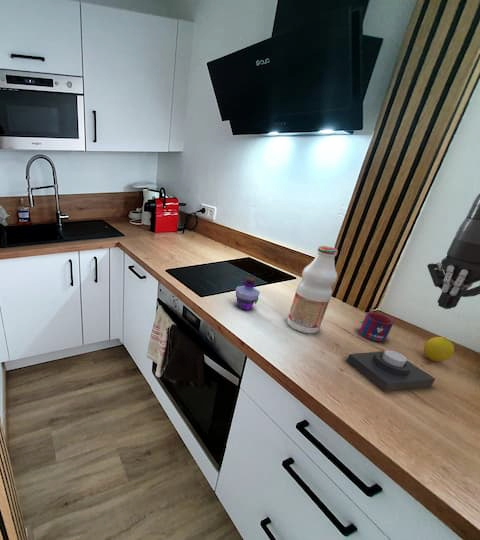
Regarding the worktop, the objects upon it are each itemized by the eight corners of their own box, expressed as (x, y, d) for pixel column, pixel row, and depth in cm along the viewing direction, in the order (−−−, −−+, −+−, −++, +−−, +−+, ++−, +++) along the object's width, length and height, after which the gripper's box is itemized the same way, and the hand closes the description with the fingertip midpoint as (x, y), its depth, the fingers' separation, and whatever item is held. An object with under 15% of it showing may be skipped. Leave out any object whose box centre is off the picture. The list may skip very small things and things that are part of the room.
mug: (361, 338, 92) (369, 320, 89) (355, 322, 100) (362, 306, 97) (387, 344, 89) (396, 326, 86) (379, 328, 97) (387, 311, 94)
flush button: (391, 355, 78) (394, 349, 77) (408, 366, 74) (411, 360, 73) (377, 356, 77) (380, 350, 76) (393, 368, 73) (397, 362, 72)
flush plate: (388, 357, 83) (394, 345, 81) (430, 386, 73) (439, 373, 71) (346, 361, 81) (351, 348, 79) (383, 391, 71) (391, 378, 69)
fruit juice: (296, 334, 93) (323, 253, 82) (281, 318, 101) (303, 243, 90) (324, 334, 93) (355, 254, 82) (307, 318, 101) (332, 244, 90)
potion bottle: (259, 314, 103) (266, 284, 99) (234, 311, 105) (240, 282, 100) (253, 302, 111) (259, 274, 106) (230, 300, 112) (235, 272, 108)
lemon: (446, 369, 79) (461, 346, 76) (419, 360, 82) (431, 337, 79) (444, 360, 83) (458, 337, 80) (418, 351, 86) (430, 329, 83)
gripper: (537, 248, 58) (493, 321, 64) (457, 231, 70) (426, 293, 76) (508, 249, 57) (465, 323, 63) (431, 232, 69) (403, 295, 75)
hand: (444, 307), depth 70 cm, fingers closed
